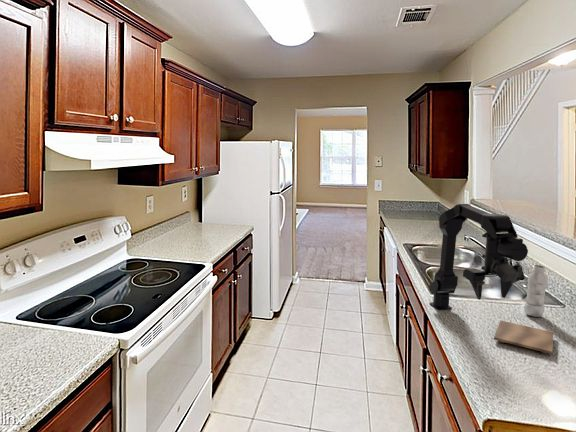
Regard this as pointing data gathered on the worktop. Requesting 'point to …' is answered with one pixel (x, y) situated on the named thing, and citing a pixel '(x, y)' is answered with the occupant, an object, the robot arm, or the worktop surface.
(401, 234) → the worktop surface
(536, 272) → the plastic bottle
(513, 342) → the shelf board
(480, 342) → the worktop surface
